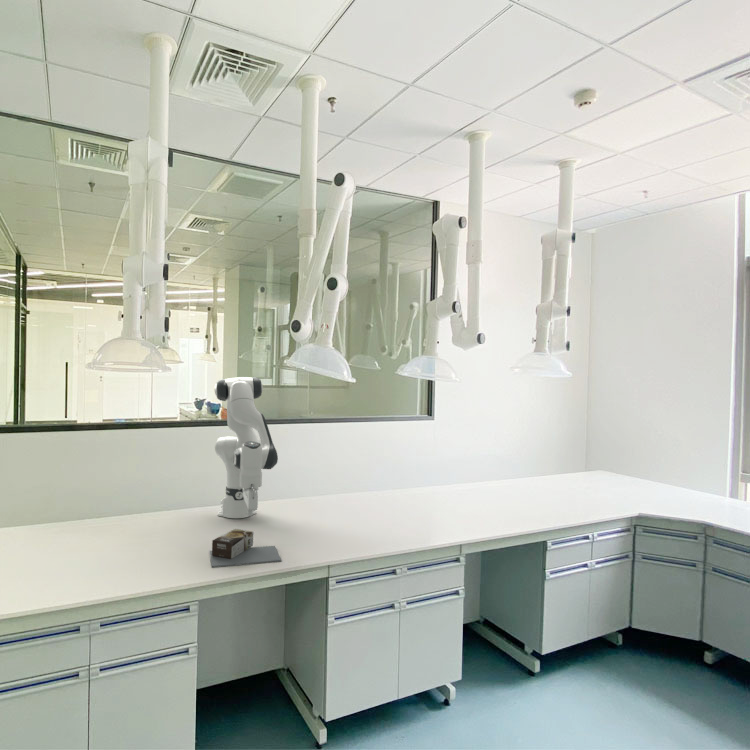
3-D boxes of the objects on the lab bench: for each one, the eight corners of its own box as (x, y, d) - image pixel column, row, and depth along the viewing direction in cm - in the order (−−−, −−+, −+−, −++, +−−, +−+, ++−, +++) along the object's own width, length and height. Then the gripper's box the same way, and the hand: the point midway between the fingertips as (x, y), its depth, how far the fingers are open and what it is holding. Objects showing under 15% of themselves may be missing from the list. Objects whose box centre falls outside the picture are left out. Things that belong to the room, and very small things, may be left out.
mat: (209, 552, 207) (209, 550, 207) (274, 547, 216) (274, 545, 216) (211, 567, 192) (211, 565, 192) (281, 561, 201) (281, 559, 201)
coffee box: (253, 530, 214) (232, 543, 199) (253, 546, 214) (231, 559, 199) (234, 527, 217) (211, 539, 201) (234, 542, 217) (211, 556, 201)
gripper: (262, 487, 203) (260, 522, 204) (255, 475, 223) (254, 507, 223) (245, 488, 201) (244, 523, 202) (240, 476, 220) (239, 508, 221)
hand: (249, 514), depth 213 cm, fingers closed
